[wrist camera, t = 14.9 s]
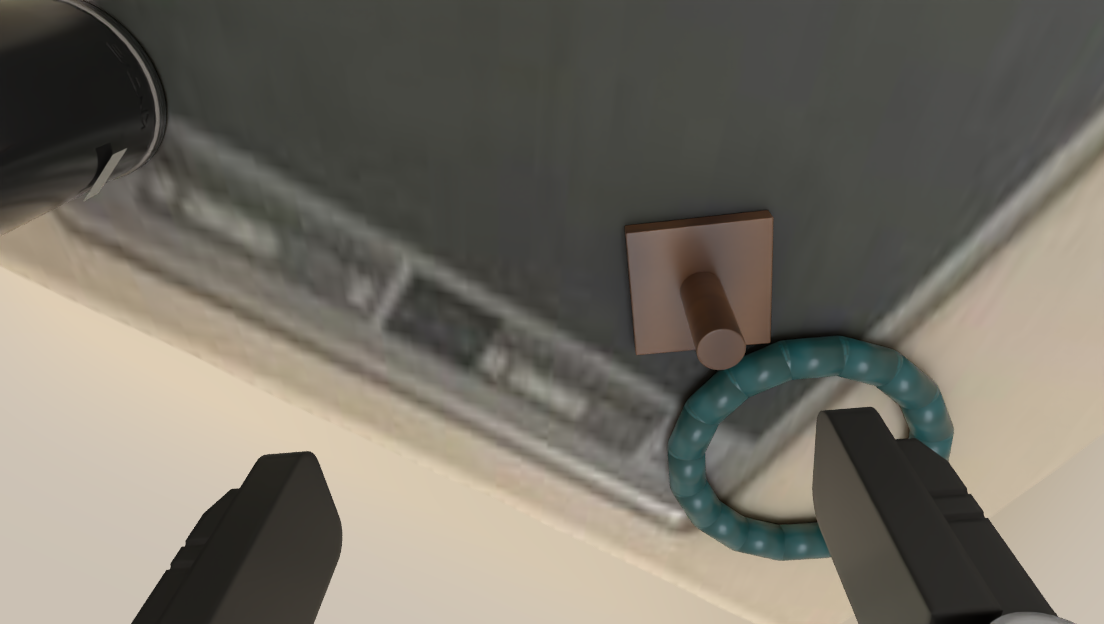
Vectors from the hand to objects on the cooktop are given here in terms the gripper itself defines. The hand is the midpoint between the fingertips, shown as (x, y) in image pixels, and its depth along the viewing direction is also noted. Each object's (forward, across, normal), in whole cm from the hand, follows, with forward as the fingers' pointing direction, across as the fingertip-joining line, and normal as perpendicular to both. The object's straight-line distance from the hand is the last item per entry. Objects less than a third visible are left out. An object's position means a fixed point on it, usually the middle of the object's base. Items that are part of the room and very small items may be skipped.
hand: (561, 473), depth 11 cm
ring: (+27, -12, +24) cm, 38 cm away
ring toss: (+28, -6, +11) cm, 31 cm away
